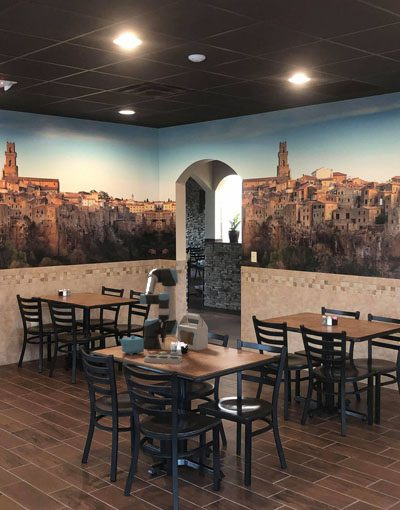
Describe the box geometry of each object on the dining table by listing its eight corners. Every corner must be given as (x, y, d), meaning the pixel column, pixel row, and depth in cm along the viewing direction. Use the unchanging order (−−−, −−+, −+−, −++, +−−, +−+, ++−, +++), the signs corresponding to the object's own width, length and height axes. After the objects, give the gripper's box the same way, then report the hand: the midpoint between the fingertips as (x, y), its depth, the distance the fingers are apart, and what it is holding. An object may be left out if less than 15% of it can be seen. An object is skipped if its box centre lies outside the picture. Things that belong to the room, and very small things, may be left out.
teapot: (140, 351, 501) (140, 333, 500) (146, 353, 492) (147, 336, 491) (114, 354, 489) (114, 336, 488) (120, 356, 480) (121, 338, 479)
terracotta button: (149, 352, 470) (149, 350, 470) (157, 353, 469) (157, 351, 469) (147, 354, 464) (147, 352, 464) (155, 354, 463) (155, 352, 463)
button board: (148, 358, 473) (148, 354, 473) (181, 360, 469) (181, 356, 469) (144, 362, 462) (144, 357, 461) (178, 363, 457) (178, 359, 457)
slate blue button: (170, 353, 467) (170, 351, 467) (178, 354, 466) (178, 352, 466) (168, 355, 461) (168, 353, 461) (177, 356, 460) (177, 353, 460)
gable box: (177, 346, 523) (177, 312, 522) (188, 344, 533) (189, 311, 531) (196, 350, 508) (197, 315, 507) (208, 348, 517) (208, 313, 516)
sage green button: (160, 353, 469) (160, 351, 469) (168, 353, 468) (168, 351, 468) (158, 355, 463) (158, 352, 463) (166, 355, 462) (166, 353, 462)
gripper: (160, 313, 471) (160, 344, 472) (156, 315, 458) (156, 348, 459) (170, 313, 470) (170, 345, 470) (166, 315, 457) (166, 348, 458)
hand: (163, 346), depth 465 cm, fingers closed
